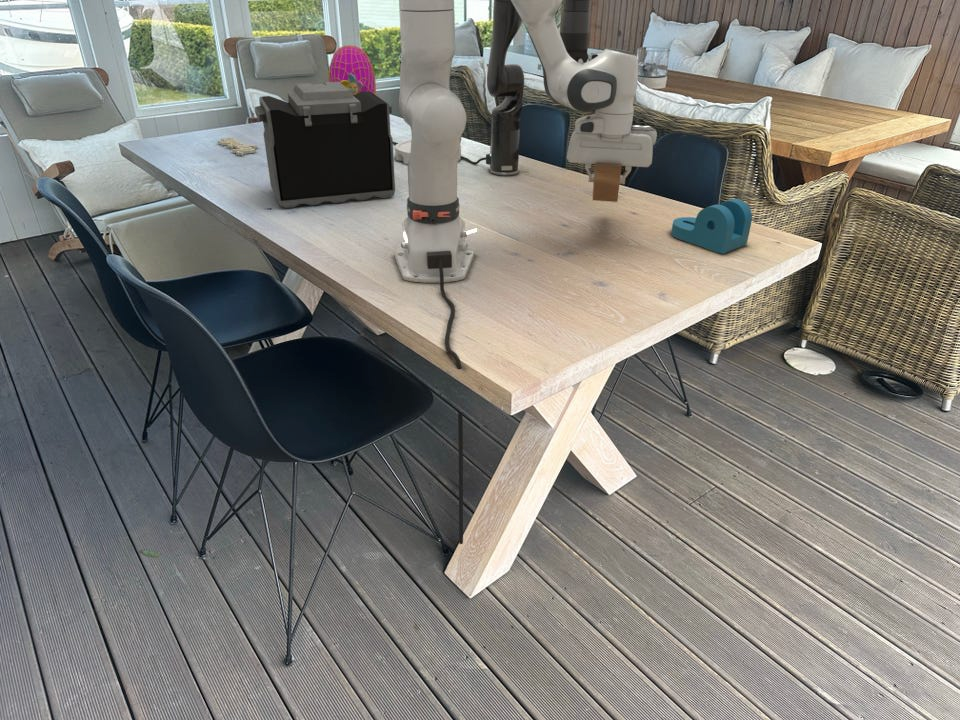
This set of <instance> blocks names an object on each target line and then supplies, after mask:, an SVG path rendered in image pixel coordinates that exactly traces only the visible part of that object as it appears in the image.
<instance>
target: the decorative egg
mask: <svg viewBox="0 0 960 720" xmlns="http://www.w3.org/2000/svg"><path fill="white" fill-rule="evenodd" d="M348 73H350V74H352V75H354V76H355V78H356V83H357V82H358V81H361V82H362V84H363V89H361V90H360V91H361V92H362V91H370V92H372V93H373V94H375V95H376V96H377V83H376V82H377V81H376V75H375V71H374V68H373V63H372V62H371V60H370V57H369V56H368V54H367V53H366V51H365V50H363V48H361V47H359V46H357V45H353V44H352V45H351V44H348V45H343V46H340V47H338V48H337V49H336V51H334V53H333V56H332V57H331V61H330V63H329V69H328V82H341V81H342V80H346V81H349V78H348Z"/></svg>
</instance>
